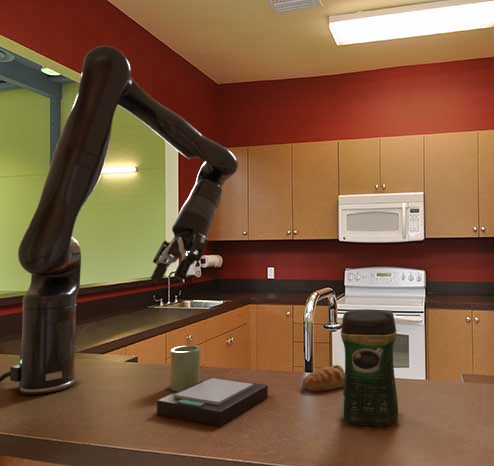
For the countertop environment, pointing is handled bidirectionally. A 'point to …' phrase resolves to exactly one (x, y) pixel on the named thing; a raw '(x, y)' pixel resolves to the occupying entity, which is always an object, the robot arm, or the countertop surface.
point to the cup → (185, 367)
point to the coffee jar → (369, 367)
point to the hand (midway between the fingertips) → (166, 279)
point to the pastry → (325, 378)
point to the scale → (212, 400)
